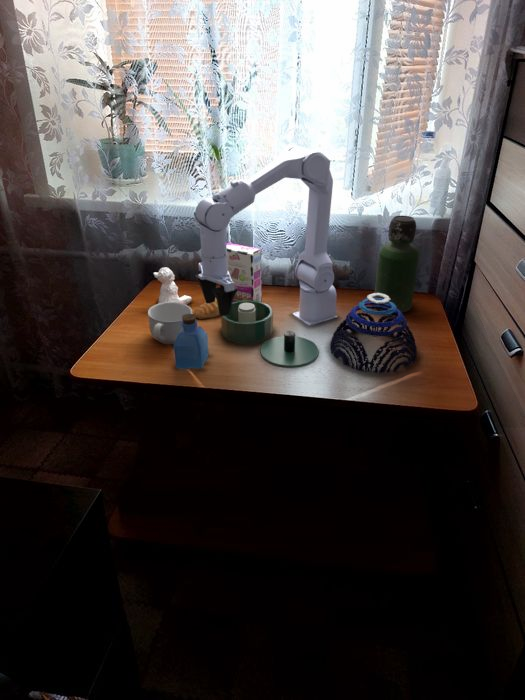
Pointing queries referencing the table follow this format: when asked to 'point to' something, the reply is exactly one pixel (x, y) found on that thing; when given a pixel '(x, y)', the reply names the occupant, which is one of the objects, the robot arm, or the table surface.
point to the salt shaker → (246, 313)
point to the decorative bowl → (361, 320)
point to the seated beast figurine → (169, 288)
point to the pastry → (207, 310)
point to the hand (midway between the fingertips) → (217, 308)
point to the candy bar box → (245, 271)
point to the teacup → (167, 320)
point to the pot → (248, 324)
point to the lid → (289, 350)
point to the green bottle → (398, 264)
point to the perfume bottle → (191, 344)
